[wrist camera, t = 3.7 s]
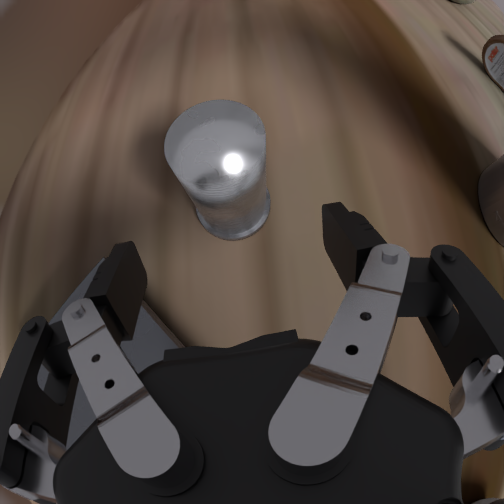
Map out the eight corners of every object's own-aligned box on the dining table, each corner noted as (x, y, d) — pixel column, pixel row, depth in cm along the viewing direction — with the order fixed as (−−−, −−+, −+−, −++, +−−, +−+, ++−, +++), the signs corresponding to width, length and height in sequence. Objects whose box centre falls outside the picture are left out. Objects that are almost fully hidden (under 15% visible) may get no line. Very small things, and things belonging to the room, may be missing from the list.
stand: (134, 269, 22) (103, 257, 17) (261, 402, 20) (260, 426, 15) (44, 373, 21) (8, 379, 16) (146, 490, 18) (124, 518, 13)
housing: (234, 160, 24) (218, 81, 14) (285, 204, 23) (296, 135, 14) (183, 206, 23) (138, 145, 14) (232, 256, 22) (209, 214, 13)
